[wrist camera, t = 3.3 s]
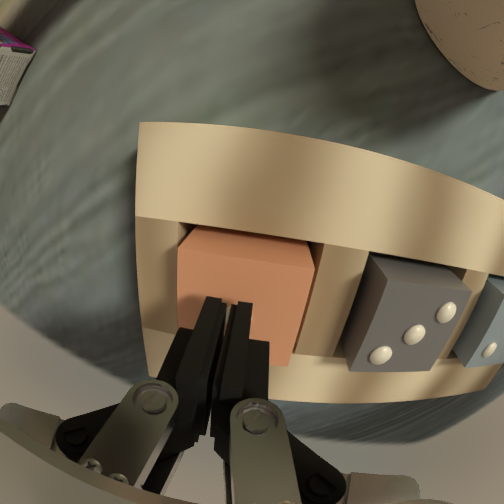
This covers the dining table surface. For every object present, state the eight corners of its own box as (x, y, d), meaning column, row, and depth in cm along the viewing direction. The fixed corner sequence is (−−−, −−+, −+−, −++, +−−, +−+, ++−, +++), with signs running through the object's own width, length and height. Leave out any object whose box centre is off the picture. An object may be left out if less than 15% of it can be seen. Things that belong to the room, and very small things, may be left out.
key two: (516, 278, 12) (541, 300, 9) (487, 337, 14) (507, 363, 11) (477, 270, 12) (506, 296, 10) (445, 338, 14) (465, 369, 11)
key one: (306, 240, 13) (315, 270, 10) (286, 327, 15) (287, 369, 12) (198, 224, 13) (176, 249, 10) (194, 312, 15) (177, 351, 12)
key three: (443, 264, 12) (473, 292, 10) (411, 337, 14) (430, 372, 12) (366, 250, 13) (389, 281, 10) (338, 333, 15) (349, 373, 12)
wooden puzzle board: (537, 219, 12) (562, 233, 9) (471, 367, 17) (484, 389, 15) (166, 124, 12) (140, 122, 10) (163, 345, 18) (149, 375, 15)
